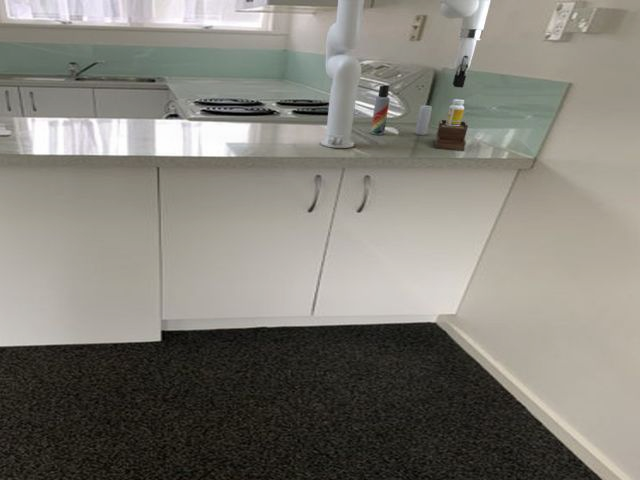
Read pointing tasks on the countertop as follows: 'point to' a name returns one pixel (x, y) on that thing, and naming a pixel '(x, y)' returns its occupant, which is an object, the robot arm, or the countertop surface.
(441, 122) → the spice rack
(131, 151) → the countertop surface
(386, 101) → the lotion bottle
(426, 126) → the pale translucent container
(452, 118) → the supplement bottle
